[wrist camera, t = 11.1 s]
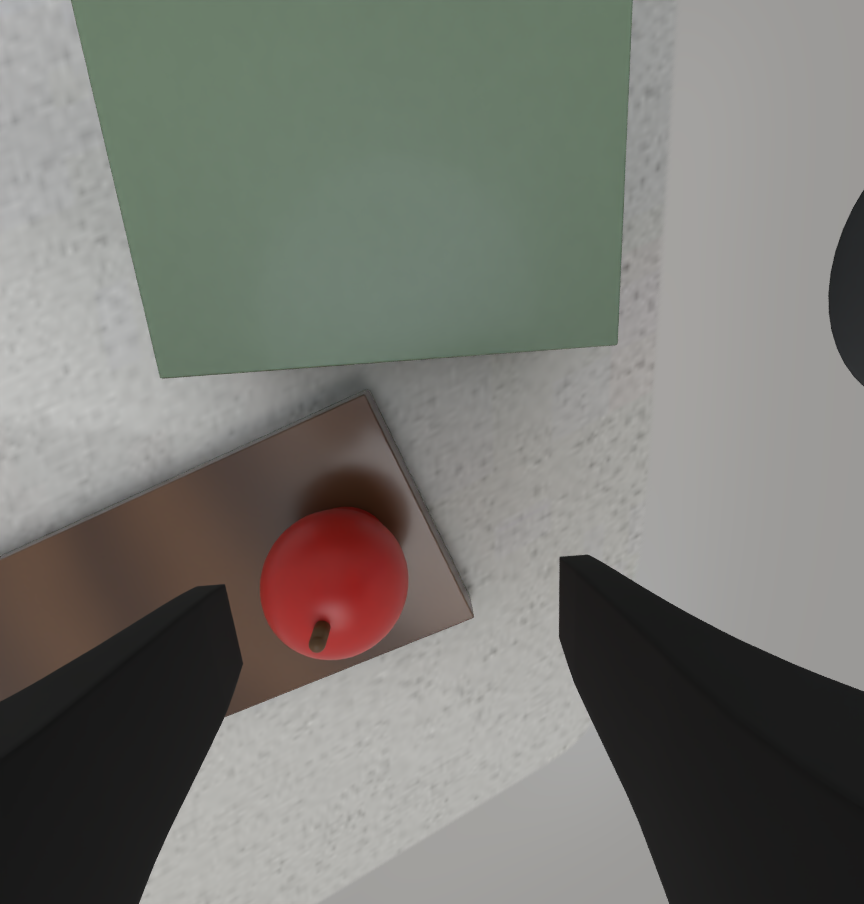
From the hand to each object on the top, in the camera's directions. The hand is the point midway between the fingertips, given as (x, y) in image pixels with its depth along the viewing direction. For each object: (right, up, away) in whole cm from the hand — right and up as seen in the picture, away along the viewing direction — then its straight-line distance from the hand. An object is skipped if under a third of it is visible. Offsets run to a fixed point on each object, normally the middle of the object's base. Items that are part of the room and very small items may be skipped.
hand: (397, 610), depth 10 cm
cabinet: (-1, +14, +7) cm, 16 cm away
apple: (-3, -1, +9) cm, 10 cm away
